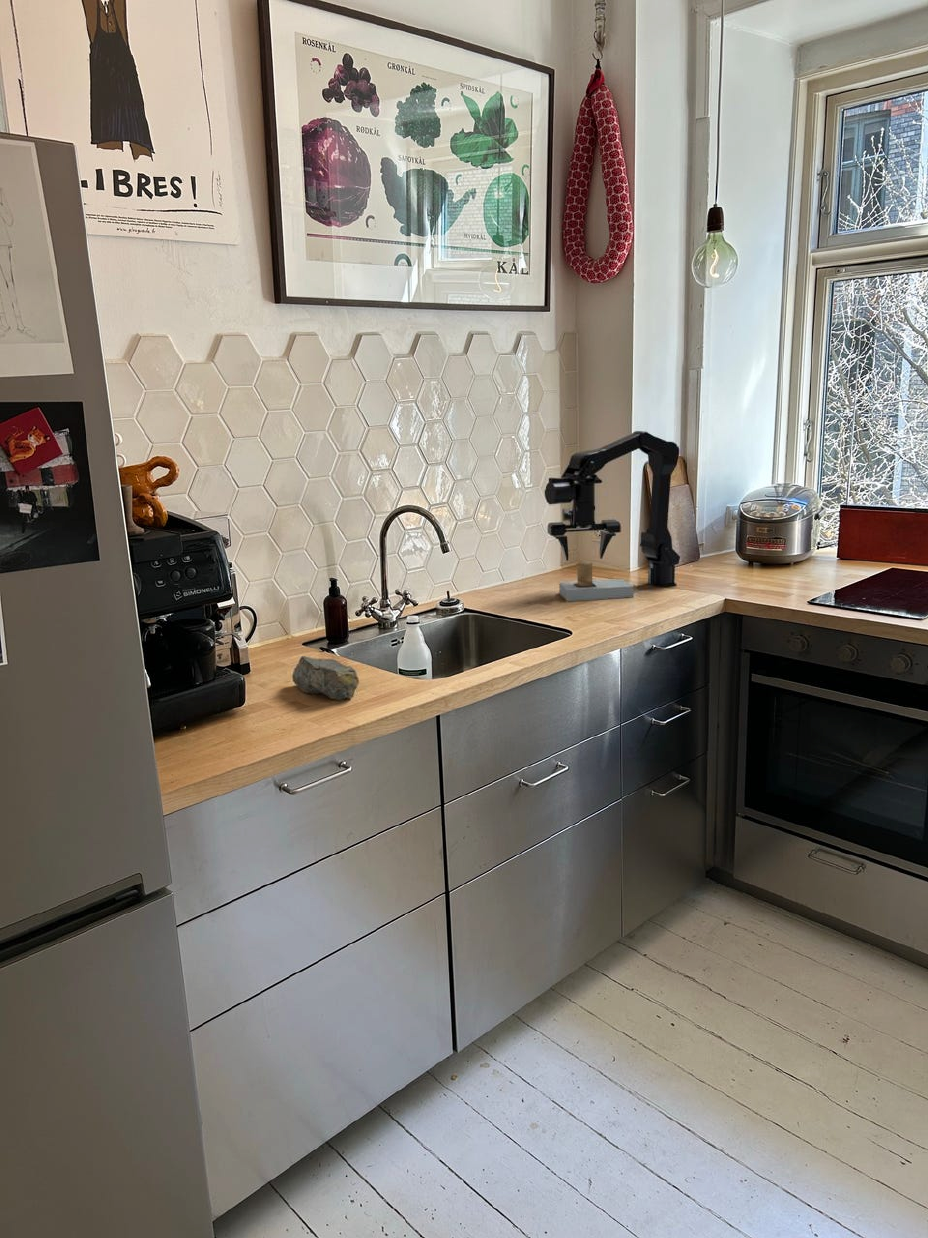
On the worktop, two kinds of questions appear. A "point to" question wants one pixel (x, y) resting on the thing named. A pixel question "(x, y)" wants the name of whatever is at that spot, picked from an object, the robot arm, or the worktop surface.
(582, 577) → the peg
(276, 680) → the worktop surface
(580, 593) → the board
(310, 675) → the rock
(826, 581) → the worktop surface
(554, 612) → the worktop surface
